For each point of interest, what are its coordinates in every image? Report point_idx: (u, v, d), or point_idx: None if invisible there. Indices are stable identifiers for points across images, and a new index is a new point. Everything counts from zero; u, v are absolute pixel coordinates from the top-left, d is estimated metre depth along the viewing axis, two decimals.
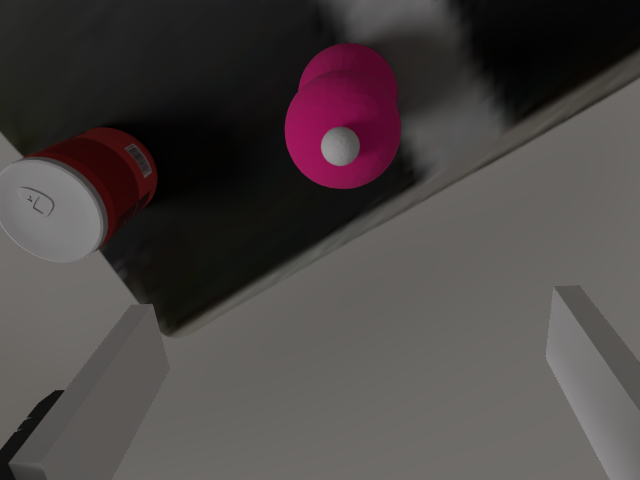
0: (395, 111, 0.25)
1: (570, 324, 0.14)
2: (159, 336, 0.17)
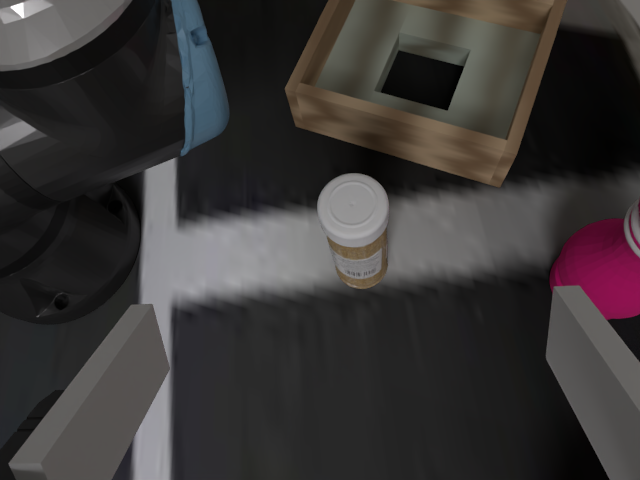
0: None
1: (570, 324, 0.14)
2: (159, 336, 0.17)
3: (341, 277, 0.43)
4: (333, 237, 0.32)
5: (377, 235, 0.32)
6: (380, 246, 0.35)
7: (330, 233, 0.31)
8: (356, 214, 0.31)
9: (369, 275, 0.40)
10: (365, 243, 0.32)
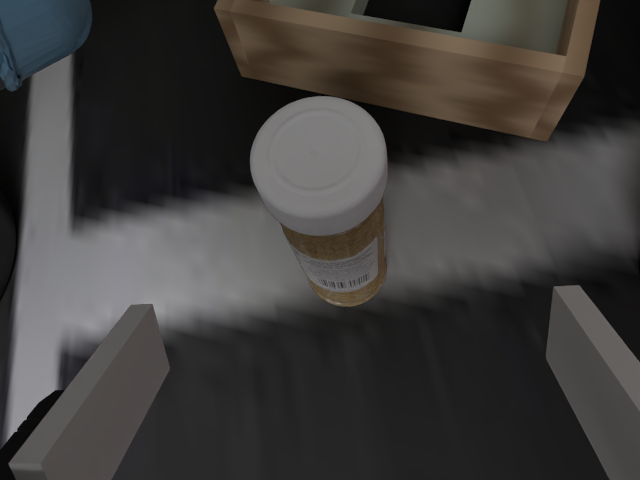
0: None
1: (570, 324, 0.14)
2: (160, 336, 0.17)
3: (316, 291, 0.28)
4: (283, 219, 0.17)
5: (368, 209, 0.17)
6: (374, 234, 0.20)
7: (276, 210, 0.16)
8: (323, 169, 0.16)
9: (359, 285, 0.24)
10: (346, 226, 0.17)
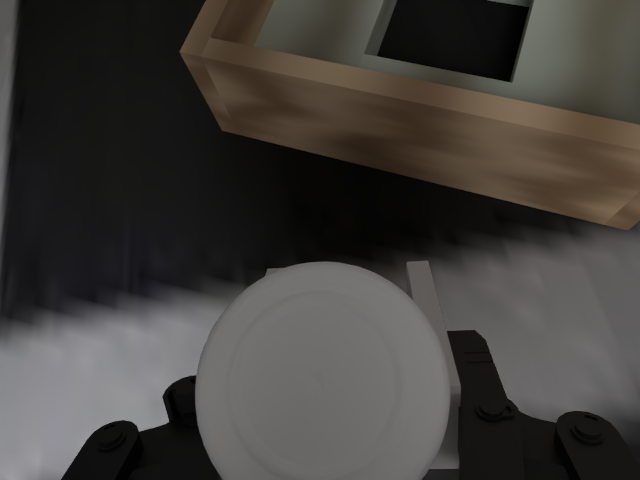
0: None
1: (410, 292, 0.17)
2: None
3: None
4: None
5: None
6: None
7: None
8: (331, 426, 0.08)
9: None
10: None
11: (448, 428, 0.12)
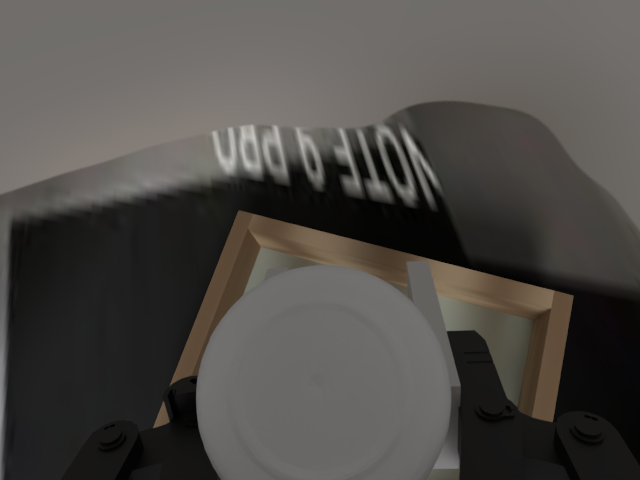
0: None
1: (410, 292, 0.17)
2: None
3: None
4: None
5: None
6: None
7: None
8: (332, 430, 0.08)
9: None
10: None
11: (448, 428, 0.12)
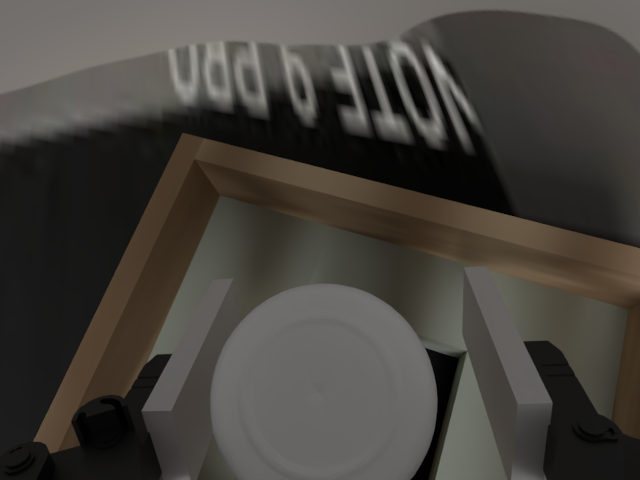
0: None
1: (472, 299, 0.16)
2: (237, 310, 0.19)
3: None
4: None
5: None
6: None
7: None
8: (331, 432, 0.09)
9: None
10: None
11: (534, 447, 0.12)
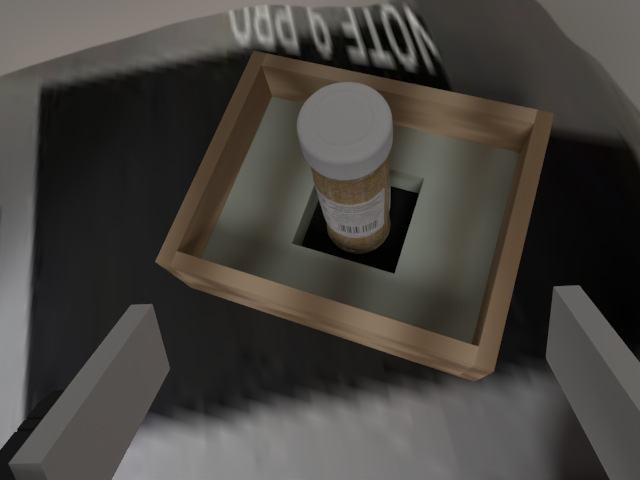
0: None
1: (570, 324, 0.14)
2: (159, 336, 0.17)
3: (335, 241, 0.35)
4: (320, 166, 0.24)
5: (379, 160, 0.24)
6: (382, 185, 0.27)
7: (316, 160, 0.23)
8: (348, 131, 0.23)
9: (369, 231, 0.31)
10: (363, 172, 0.24)
11: None
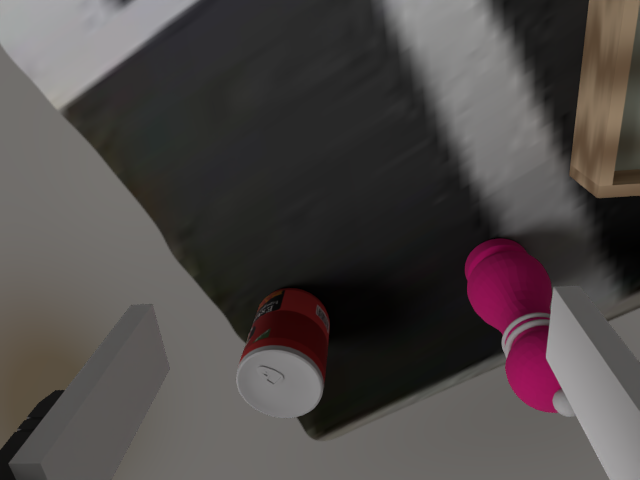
0: None
1: (570, 324, 0.14)
2: (159, 336, 0.17)
3: None
4: None
5: None
6: None
7: None
8: None
9: None
10: None
11: None
